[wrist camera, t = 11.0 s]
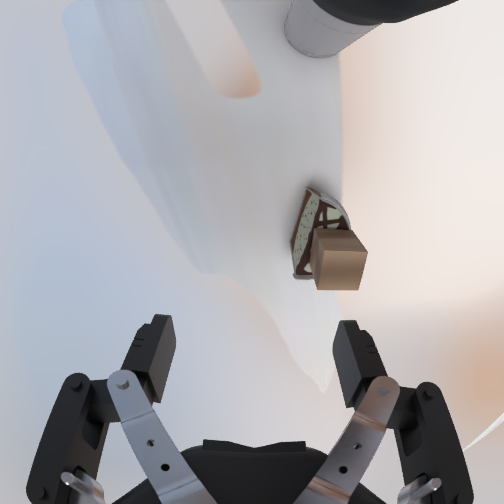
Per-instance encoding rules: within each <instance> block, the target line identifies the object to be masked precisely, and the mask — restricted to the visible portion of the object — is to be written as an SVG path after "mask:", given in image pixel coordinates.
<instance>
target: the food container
mask: <svg viewBox="0 0 504 504" xmlns="http://www.w3.org/2000/svg"><path fill="white" fill-rule="evenodd" d="M320 194H321V195H320ZM320 194H319V193H318V192H316V191H315V190H313V189H310V188H308V187H306V191H305V194H304V197H303V201H302V204H301V207H300V210H299V213H298V217H297V220H296V223H295V226H294V229H293V233H292V236H291V239H290V246H291V253H292V260H293V267H294V274H293V277H294V278H295V279H298V280H310V279H314V277H313V274H312V271H311V268H310V264H309V262H310V255H311V248H312V240H313V233H314V228H323V229H341V230H351V226H350V222H349V218H348V216H347V213H346V211H345V210H344V208H343V207H342V206H341V204H340V203H339V202H338V201H337V200H335V199H334V198H333V197H331V196H329V195H328V194H325V193H323V192H320Z"/></svg>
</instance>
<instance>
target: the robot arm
mask: <svg viewBox="0 0 504 504" xmlns="http://www.w3.org/2000/svg"><path fill="white" fill-rule="evenodd" d="M456 1H458V0H293V2H292V5H291V8H290V11H289V13H288V16H287V19H286V23H285V33H286V37H287V39H288V41H289V42H290V43H291V45H292V46H293V47H294V48H295V49H297V50H298V51H299V52H301V53H303V54H305V55H308V56H311V57H315V58H325V57H330V56H333V55H335V54H337V53H338V52H340V51H341V50H343V49H344V48H346V47H347V46H348V45H350V44H351V43H353V42H354V41H356V40H357V39H359V38H360V37H362V36H363V35H365V34H367V33H368V32H370V31H371V30H373V29H374V28H376V27H377V26H379V25H381V24H382V23H397V22H401V21H404V20H406V19H409V18H411V17H414V16H417V15H420V14H422V13H425V12H428V11H431V10H434V9H438V8H440V7H443V6H446V5H449V4H451V3H454V2H456ZM175 348H176V337H175V332H174V327H173V322H172V317H171V315H161V314H155V315H154V318H153V320H152V322H151V324H144V325H143V326H142V327H141V328H140V329H139V330H138V331H137V333H136V335H135V337H134V340H133V342H132V344H131V346H130V349H129V351H128V353H127V355H126V358H125V360H124V363H123V365H122V367H121V369H120V370H119V371H116V372H114V373H113V374H111V375H110V376H109V378H108V379H105V380H93V381H92V380H91V381H90V380H89V378H88V377H87V376H86V375H85V374H83V373H74V374H72V375H70V376H68V377H67V378H66V379H65V381H64V383H63V385H62V388H61V390H60V392H59V394H58V397H57V399H56V402H55V404H54V406H53V409H52V411H51V414H50V416H49V419H48V421H47V424H46V427H45V429H44V432H43V435H42V438H41V441H40V443H39V446H38V449H37V452H36V455H35V458H34V461H33V465H32V468H31V471H30V475H29V478H28V482H27V486H26V493H27V496H28V499H29V500H30V502H31V503H32V504H105V501H104V491H103V488H102V486H101V485H100V484H99V483H98V482H97V481H96V477H97V472H98V467H99V463H100V459H101V455H102V451H103V446H104V442H105V439H106V435H107V431H108V427H109V423H110V422H122V423H121V425H122V428H123V430H124V432H125V434H126V436H127V439H128V441H129V443H130V445H131V447H132V449H133V451H134V453H135V455H136V457H137V459H138V461H139V463H140V465H141V467H142V468H143V470H144V472H145V474H146V476H147V477H148V478H147V479H146V480H144V481H143V482H142V483H140V484H139V485H138V486H136V487H135V488H133V489H132V490H131V491H129V492H128V493H126V494H125V495H124V496H122V497H121V498H119V499H118V500H116V501H115V502H114V503H112V504H386V503H385V502H384V501H382V500H381V499H380V498H378V497H377V496H376V495H375V494H373V493H372V492H371V491H370V490H368V489H367V488H366V487H365V486H364V485H362V484H361V483H360V482H359V481H360V480H361V478H362V476H363V475H364V473H365V471H366V469H367V467H368V466H369V464H370V462H371V460H372V458H373V456H374V454H375V452H376V450H377V449H378V446H379V445H380V443H381V440H382V438H383V436H384V434H385V432H386V429H387V428H389V429H394V434H395V438H396V443H397V447H398V451H399V457H400V461H401V467H402V472H403V477H404V483H405V487H403V489H401V491H400V492H399V495H398V502H397V504H472V503H473V499H474V494H473V490H472V485H471V481H470V477H469V473H468V469H467V466H466V462H465V458H464V455H463V452H462V449H461V446H460V442H459V439H458V436H457V433H456V430H455V427H454V424H453V421H452V418H451V416H450V413H449V410H448V408H447V405H446V402H445V400H444V397H443V395H442V392H441V390H440V389H439V387H438V386H437V385H435V384H434V383H431V382H423V383H421V384H420V385H419V386H418V387H417V388H416V389H414V388H407V387H401V386H399V385H398V383H397V382H396V381H395V380H394V379H393V378H391V377H388V375H387V373H386V371H385V368H384V366H383V363H382V360H381V358H380V355H379V353H378V350H377V348H376V347H375V343H374V341H373V338H372V336H370V334H369V333H367V331H366V330H360V329H359V326H358V324H357V322H356V321H355V320H341V321H340V322H339V325H338V328H337V332H336V335H335V338H334V342H333V356H334V360H335V364H336V368H337V372H338V376H339V380H340V384H341V388H342V392H343V396H344V400H345V405H346V408H350V407H354V409H355V413H354V414H353V416H352V418H351V420H350V421H349V423H348V425H347V426H346V428H345V430H344V431H343V433H342V435H341V436H340V438H339V439H338V441H337V442H336V444H335V445H334V447H333V448H332V450H331V451H330V453H329V454H328V455H327V454H325V453H323V452H321V451H318V450H316V449H313V448H309V447H306V443H305V441H298V442H279V443H275V444H271V445H266V446H262V447H257V448H253V447H248V446H244V445H240V444H236V443H233V442H229V441H217V440H206V439H205V440H203V445H200V446H195V447H191V448H189V449H186V450H184V451H182V452H179V451H178V449H177V448H176V446H175V444H174V443H173V441H172V440H171V438H170V436H169V435H168V433H167V431H166V430H165V428H164V426H163V425H162V423H161V421H160V419H159V418H158V416H157V414H156V412H155V411H154V410H153V408H152V404H153V402H157V403H161V399H162V395H163V391H164V388H165V384H166V381H167V377H168V373H169V370H170V366H171V363H172V359H173V356H174V352H175Z"/></svg>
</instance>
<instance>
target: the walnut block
mask: <svg viewBox="0 0 504 504" xmlns="http://www.w3.org/2000/svg"><path fill="white" fill-rule="evenodd" d="M367 254H368V252H367V250H366V249H365V247H364V246H363V245H362V243H361V242H360V240H359V239H358V238H357V236H356V235H355V234H354V232H353V231H352V230H341V229H323V228H314V233H313V240H312V248H311V255H310V262H309V264H310V268H311V271H312V274H313V277H314V280H315V284H316V287H317V290H358V289H359V285H360V282H361V278H362V274H363V270H364V266H365V262H366V258H367Z"/></svg>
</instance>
